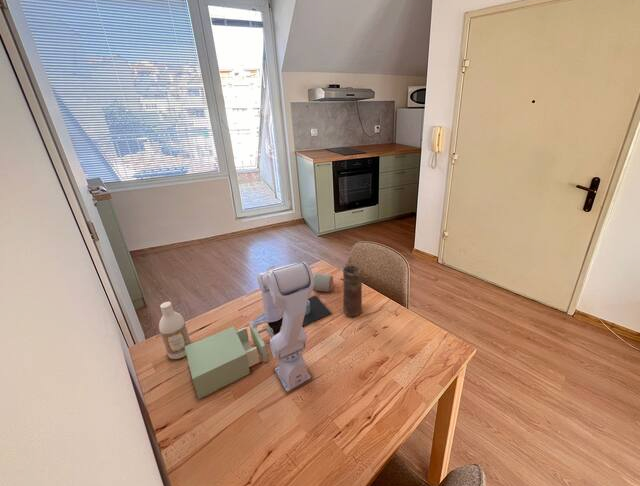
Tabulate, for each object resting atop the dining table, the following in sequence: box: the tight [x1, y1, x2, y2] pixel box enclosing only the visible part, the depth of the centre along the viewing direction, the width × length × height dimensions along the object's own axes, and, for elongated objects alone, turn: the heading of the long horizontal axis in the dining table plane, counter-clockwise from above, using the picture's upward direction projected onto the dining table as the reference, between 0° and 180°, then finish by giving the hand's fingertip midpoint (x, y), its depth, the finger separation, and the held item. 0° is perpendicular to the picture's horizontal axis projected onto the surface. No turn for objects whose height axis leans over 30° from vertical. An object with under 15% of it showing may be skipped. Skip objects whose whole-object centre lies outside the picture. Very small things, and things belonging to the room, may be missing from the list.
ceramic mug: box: [312, 272, 334, 293], centre depth 131 cm, size 11×8×8 cm
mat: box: [302, 295, 332, 328], centre depth 117 cm, size 13×16×1 cm
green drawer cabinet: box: [185, 326, 251, 400], centre depth 91 cm, size 15×14×9 cm
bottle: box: [305, 300, 310, 315], centre depth 116 cm, size 4×4×6 cm
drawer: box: [236, 322, 275, 368], centre depth 96 cm, size 18×12×7 cm
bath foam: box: [158, 301, 192, 360], centre depth 94 cm, size 7×7×20 cm
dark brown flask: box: [342, 265, 363, 318], centre depth 115 cm, size 8×7×20 cm
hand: (276, 334), depth 102 cm, fingers closed
